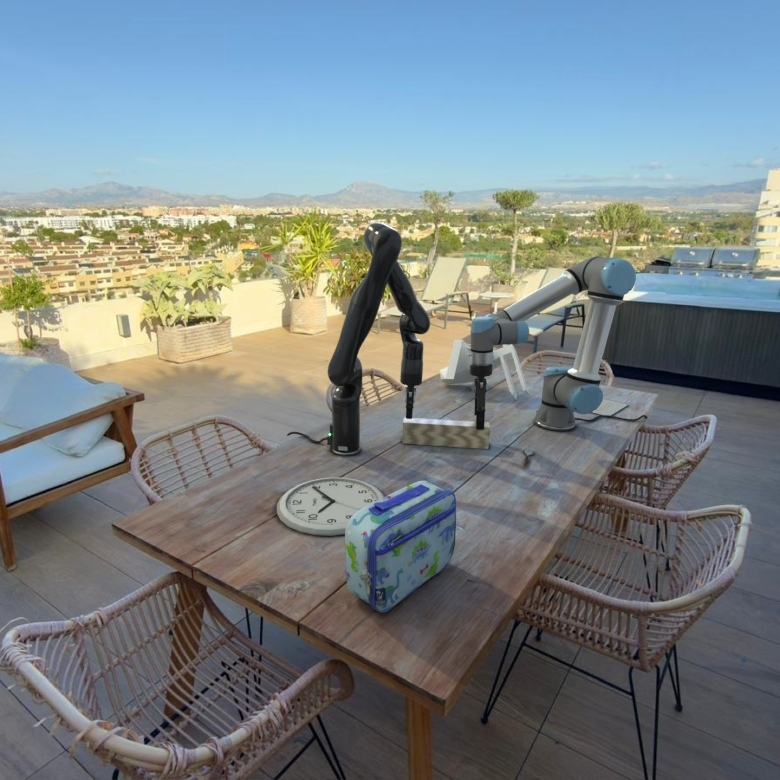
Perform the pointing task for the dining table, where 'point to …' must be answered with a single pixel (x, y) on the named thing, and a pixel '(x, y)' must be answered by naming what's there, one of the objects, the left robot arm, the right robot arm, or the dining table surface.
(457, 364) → the white plastic object
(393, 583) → the lunch box
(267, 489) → the dining table surface
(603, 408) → the invitation card
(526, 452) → the fork
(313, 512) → the wall clock
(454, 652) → the dining table surface
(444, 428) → the plank
